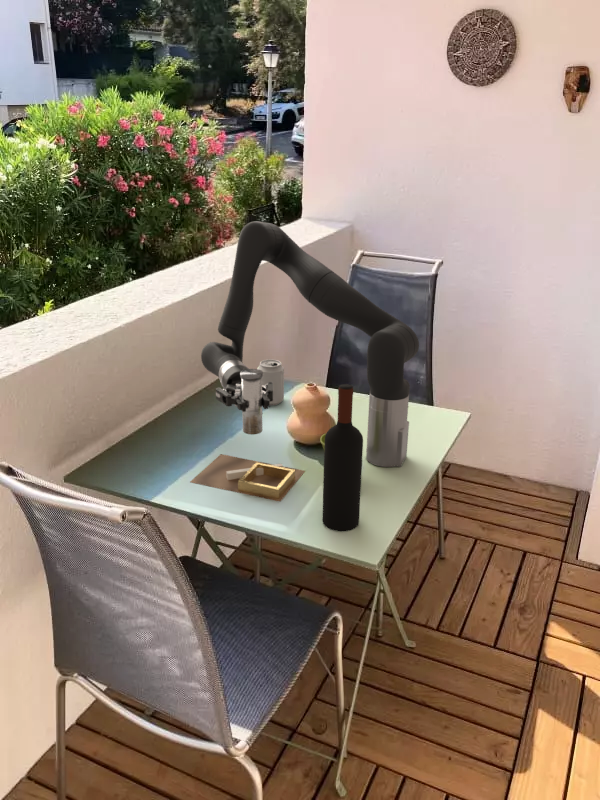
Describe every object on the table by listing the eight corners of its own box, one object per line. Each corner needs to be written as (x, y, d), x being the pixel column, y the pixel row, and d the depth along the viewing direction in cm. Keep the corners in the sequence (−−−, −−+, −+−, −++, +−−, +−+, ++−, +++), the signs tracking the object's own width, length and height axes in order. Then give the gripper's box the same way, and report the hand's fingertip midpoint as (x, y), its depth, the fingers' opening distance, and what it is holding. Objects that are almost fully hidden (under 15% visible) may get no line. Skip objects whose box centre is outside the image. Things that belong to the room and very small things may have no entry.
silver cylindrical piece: (267, 427, 164) (266, 370, 158) (258, 436, 159) (257, 378, 154) (247, 424, 165) (246, 367, 160) (237, 432, 161) (236, 374, 156)
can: (283, 406, 205) (283, 367, 200) (256, 406, 205) (256, 366, 200) (284, 396, 212) (284, 358, 207) (258, 396, 212) (258, 357, 207)
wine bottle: (317, 527, 148) (320, 390, 136) (329, 509, 154) (333, 377, 143) (352, 534, 145) (359, 396, 134) (363, 516, 152) (370, 382, 140)
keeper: (295, 479, 164) (295, 469, 163) (278, 499, 156) (278, 489, 155) (256, 471, 167) (256, 462, 166) (238, 490, 159) (238, 481, 158)
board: (305, 474, 168) (305, 470, 168) (280, 505, 155) (280, 501, 155) (220, 457, 175) (220, 454, 175) (190, 485, 163) (189, 482, 162)
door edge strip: (226, 477, 164) (226, 471, 164) (281, 469, 168) (281, 463, 168) (227, 480, 163) (227, 473, 163) (282, 471, 167) (282, 465, 166)
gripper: (206, 367, 169) (222, 394, 154) (265, 361, 173) (286, 386, 158) (208, 397, 172) (223, 426, 157) (266, 390, 176) (286, 418, 161)
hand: (255, 406), depth 157 cm, fingers closed on silver cylindrical piece, 4 cm apart
